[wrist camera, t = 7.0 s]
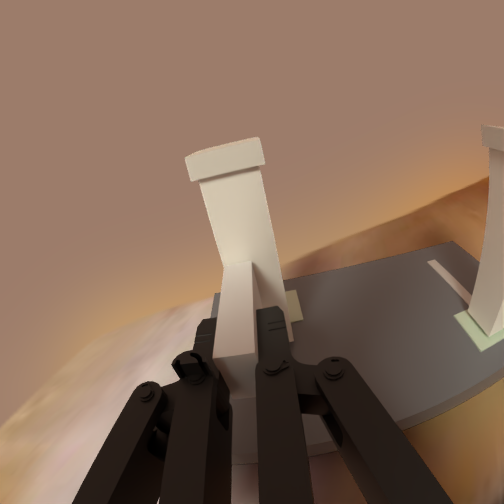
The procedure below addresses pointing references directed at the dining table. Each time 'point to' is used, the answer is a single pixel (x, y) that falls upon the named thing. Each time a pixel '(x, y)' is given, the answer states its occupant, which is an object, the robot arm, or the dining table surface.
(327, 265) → the dining table surface
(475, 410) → the dining table surface
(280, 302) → the lever
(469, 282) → the switch panel
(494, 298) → the lever
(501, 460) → the dining table surface
